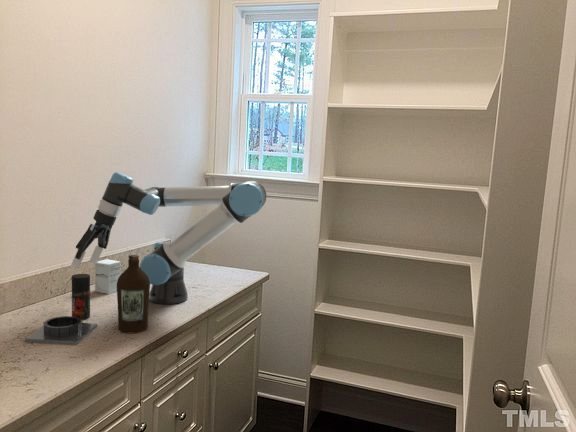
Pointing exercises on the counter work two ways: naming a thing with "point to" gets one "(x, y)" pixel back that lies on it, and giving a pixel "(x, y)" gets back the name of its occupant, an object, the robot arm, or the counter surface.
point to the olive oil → (133, 298)
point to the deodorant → (81, 296)
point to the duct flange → (62, 331)
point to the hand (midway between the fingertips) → (84, 264)
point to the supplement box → (107, 276)
